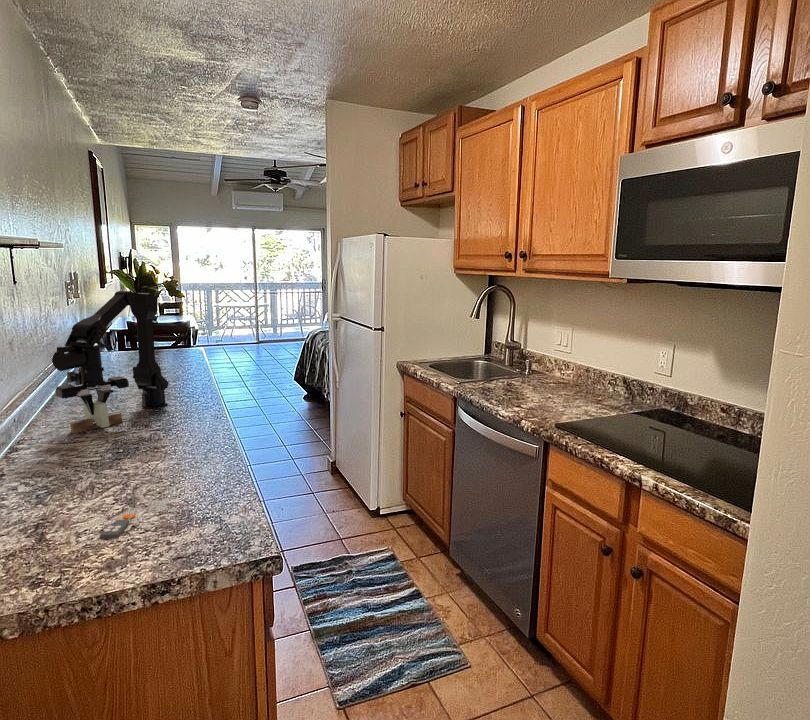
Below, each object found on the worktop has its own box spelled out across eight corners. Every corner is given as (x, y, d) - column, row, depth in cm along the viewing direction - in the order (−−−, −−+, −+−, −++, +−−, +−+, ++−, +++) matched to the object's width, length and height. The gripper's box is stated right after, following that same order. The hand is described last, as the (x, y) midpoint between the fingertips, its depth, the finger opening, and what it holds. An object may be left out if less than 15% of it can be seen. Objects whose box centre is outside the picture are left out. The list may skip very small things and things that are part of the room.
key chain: (119, 540, 97) (118, 533, 96) (98, 540, 96) (98, 533, 96) (149, 508, 109) (148, 501, 109) (130, 508, 109) (130, 501, 109)
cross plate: (85, 420, 163) (83, 398, 162) (92, 418, 165) (90, 397, 164) (102, 427, 156) (99, 405, 155) (109, 426, 158) (107, 403, 156)
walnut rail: (119, 421, 167) (118, 412, 166) (122, 422, 165) (121, 413, 165) (71, 432, 156) (69, 422, 155) (73, 433, 155) (72, 423, 154)
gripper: (111, 356, 169) (116, 403, 172) (45, 365, 155) (51, 416, 157) (127, 361, 162) (132, 409, 165) (59, 370, 148) (66, 423, 151)
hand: (96, 414), depth 160 cm, fingers closed on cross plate, 2 cm apart
